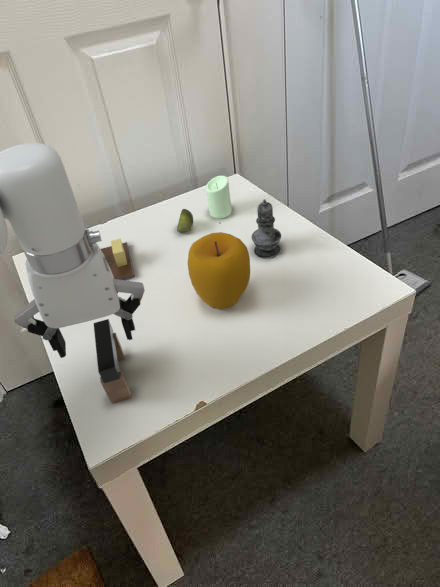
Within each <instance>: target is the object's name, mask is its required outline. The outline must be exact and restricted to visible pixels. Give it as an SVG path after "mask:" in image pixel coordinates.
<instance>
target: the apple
mask: <svg viewBox="0 0 440 587" xmlns="http://www.w3.org/2000/svg"><path fill="white" fill-rule="evenodd" d="M187 269H188V270H187V271H188V276H189V280H190V282H191V283H190V284H191V285H192V288H193V290H194V291H195V293H196V294H197V295H198V297H199V298H200V300H201V301H202V302H204V303H205V304H206V305H207V306H209V307H210V308H212V309H215V310H225V309H231V307H233V306H235V305H237V303H238V302H239V301H240V299H241V298H242V296H243V295H244V293H245V292H246V290H247V288H248V286H249V282H250V279H251V258H250V252H249V249H248V247H247V245H246V244H245V243H244V242H243V241H242V239H240V238H239V237H237V236H234V235H233V234H230V233H226V232H222V231H220V232H219V231H217V232H212V233H209V234H205V235H204V236H201V237H200V238H198V239H197V240H195V241H193V243H192V244H191V246H190V248H189V250H188V254H187Z"/></svg>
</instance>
